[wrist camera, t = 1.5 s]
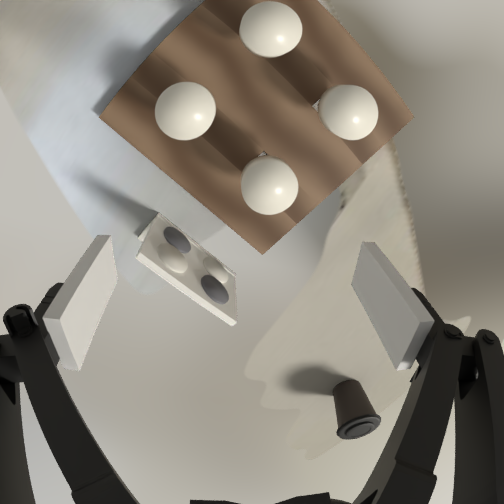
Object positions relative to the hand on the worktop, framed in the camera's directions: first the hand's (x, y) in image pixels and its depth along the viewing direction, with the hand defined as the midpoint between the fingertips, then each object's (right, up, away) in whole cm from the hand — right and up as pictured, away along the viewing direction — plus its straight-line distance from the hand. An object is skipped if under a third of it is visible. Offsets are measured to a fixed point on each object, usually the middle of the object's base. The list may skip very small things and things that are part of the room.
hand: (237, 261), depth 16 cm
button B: (+9, +15, +13) cm, 21 cm away
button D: (+2, +8, +16) cm, 18 cm away
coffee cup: (+18, -25, +39) cm, 49 cm away
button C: (-5, +14, +12) cm, 19 cm away
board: (+2, +16, +14) cm, 21 cm away
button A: (+2, +21, +9) cm, 22 cm away
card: (-7, 0, +22) cm, 23 cm away
